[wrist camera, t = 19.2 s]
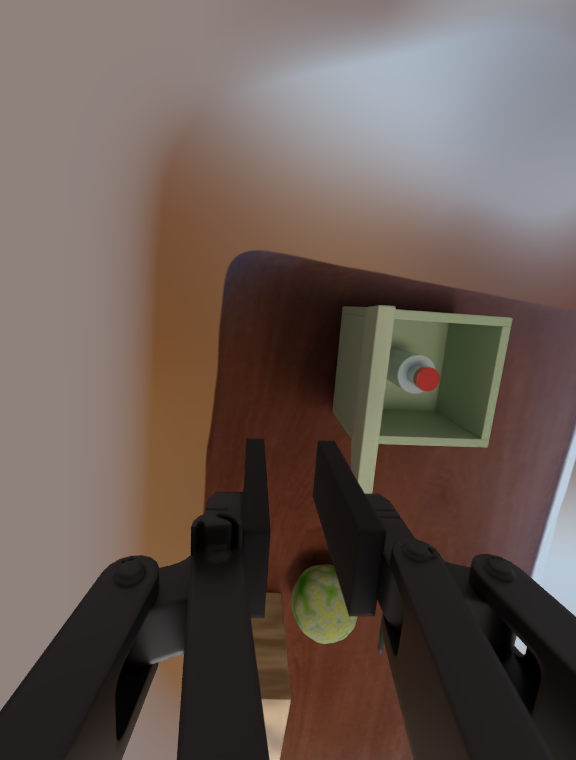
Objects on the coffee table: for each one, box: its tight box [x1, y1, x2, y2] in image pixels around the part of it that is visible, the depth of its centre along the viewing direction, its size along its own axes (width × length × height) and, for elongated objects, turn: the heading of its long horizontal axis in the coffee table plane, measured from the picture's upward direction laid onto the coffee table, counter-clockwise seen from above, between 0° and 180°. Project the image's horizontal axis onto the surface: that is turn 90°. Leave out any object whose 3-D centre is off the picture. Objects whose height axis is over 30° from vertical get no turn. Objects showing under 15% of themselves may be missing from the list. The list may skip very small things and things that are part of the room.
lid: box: [351, 305, 396, 494], centre depth 30 cm, size 17×15×1 cm
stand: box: [251, 592, 291, 760], centre depth 50 cm, size 10×10×16 cm
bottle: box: [387, 348, 440, 394], centre depth 46 cm, size 5×5×10 cm
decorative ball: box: [291, 564, 357, 644], centre depth 53 cm, size 10×10×10 cm
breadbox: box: [332, 306, 512, 447], centre depth 46 cm, size 16×15×12 cm
